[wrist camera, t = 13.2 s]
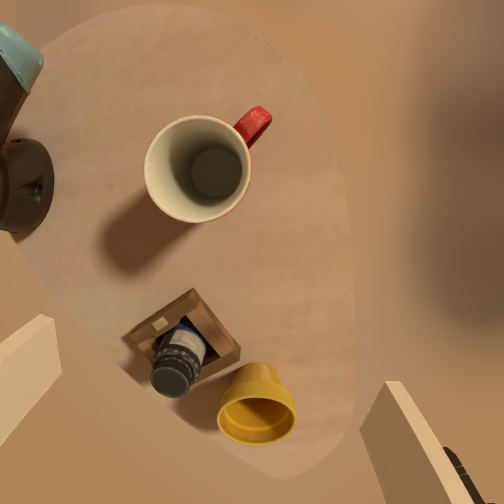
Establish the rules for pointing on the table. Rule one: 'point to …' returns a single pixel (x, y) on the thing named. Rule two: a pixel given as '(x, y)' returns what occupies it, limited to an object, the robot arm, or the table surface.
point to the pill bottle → (178, 360)
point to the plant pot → (256, 407)
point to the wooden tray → (202, 319)
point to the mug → (202, 165)
